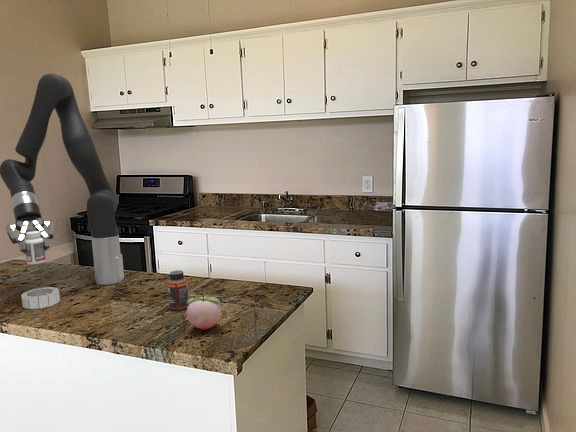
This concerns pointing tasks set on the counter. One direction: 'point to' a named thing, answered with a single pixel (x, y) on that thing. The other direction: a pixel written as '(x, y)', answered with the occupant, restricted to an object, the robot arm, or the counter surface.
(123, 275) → the robot arm
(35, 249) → the pill bottle
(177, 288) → the supplement bottle
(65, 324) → the counter surface
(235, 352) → the counter surface
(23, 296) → the ring collar
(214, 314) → the decorative fruit
